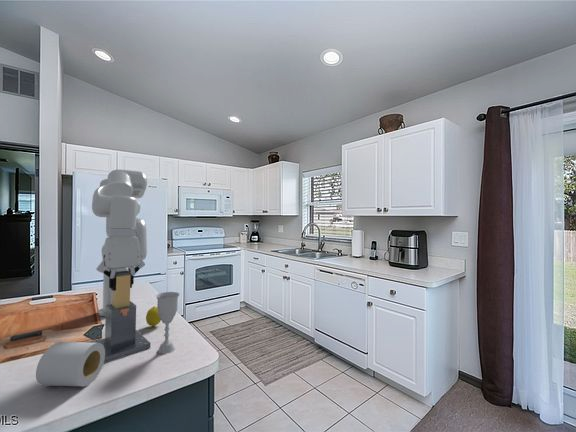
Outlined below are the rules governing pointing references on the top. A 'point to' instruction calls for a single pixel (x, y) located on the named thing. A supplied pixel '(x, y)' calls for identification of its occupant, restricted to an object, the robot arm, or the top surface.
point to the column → (121, 290)
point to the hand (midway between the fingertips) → (121, 287)
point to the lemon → (153, 317)
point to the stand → (121, 333)
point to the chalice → (167, 316)
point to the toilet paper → (70, 364)
